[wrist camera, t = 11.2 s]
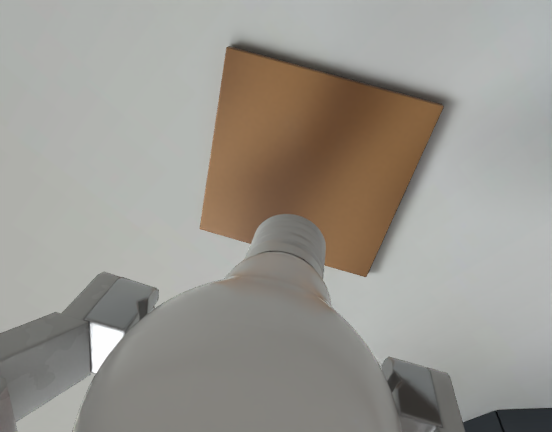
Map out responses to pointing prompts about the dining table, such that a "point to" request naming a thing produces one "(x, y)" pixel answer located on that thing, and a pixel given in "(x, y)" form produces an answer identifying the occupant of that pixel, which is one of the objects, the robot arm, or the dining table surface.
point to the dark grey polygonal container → (512, 421)
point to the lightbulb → (246, 354)
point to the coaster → (312, 154)
